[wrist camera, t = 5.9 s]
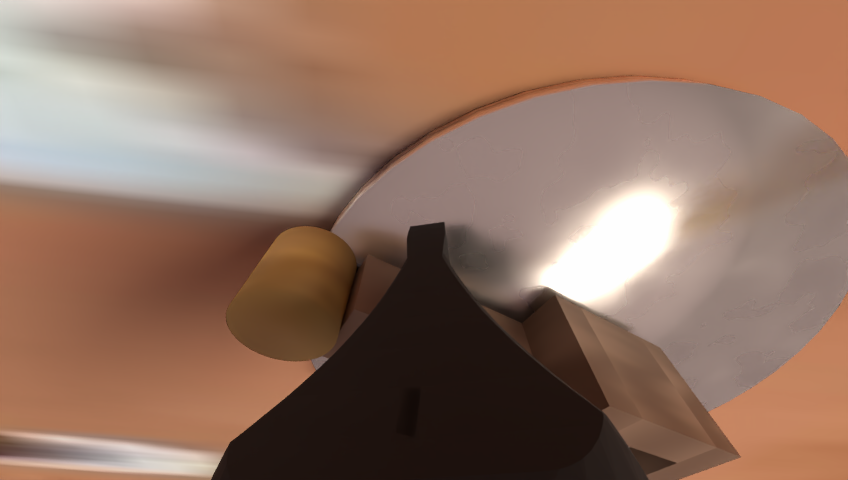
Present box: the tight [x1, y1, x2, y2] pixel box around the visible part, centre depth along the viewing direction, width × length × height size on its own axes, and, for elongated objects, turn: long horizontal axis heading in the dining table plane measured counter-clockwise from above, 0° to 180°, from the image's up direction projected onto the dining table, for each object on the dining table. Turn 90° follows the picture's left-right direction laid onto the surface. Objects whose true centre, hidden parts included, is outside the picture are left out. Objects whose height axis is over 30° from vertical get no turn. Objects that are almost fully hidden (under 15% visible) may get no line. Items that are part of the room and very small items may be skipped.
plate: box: [311, 75, 848, 412], centre depth 14 cm, size 22×22×1 cm
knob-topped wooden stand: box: [226, 226, 741, 480], centre depth 10 cm, size 15×6×4 cm, turn 59°
